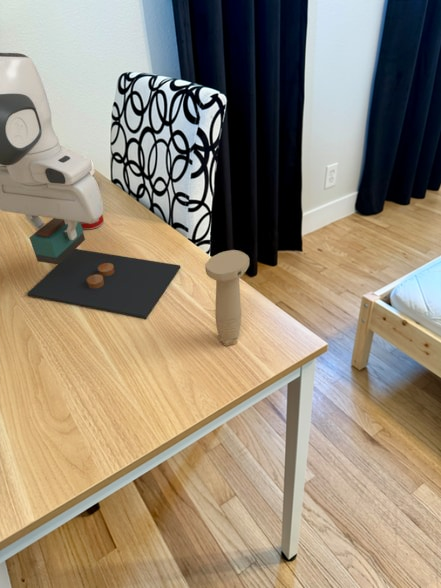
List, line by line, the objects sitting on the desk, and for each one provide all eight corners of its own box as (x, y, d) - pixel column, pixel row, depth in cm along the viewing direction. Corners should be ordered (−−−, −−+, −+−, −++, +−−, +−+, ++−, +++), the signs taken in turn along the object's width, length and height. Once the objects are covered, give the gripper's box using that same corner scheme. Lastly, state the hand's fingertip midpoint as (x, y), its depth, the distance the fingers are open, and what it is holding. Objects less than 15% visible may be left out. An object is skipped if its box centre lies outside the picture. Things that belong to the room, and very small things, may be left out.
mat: (27, 296, 79) (26, 293, 79) (75, 251, 91) (74, 248, 91) (146, 319, 73) (145, 316, 73) (180, 267, 85) (180, 265, 85)
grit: (96, 275, 83) (94, 270, 82) (103, 266, 85) (102, 261, 84) (109, 277, 82) (108, 272, 81) (117, 269, 84) (116, 264, 83)
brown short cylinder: (85, 287, 80) (83, 282, 79) (93, 278, 82) (92, 273, 81) (99, 290, 79) (98, 284, 78) (107, 280, 81) (106, 275, 80)
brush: (37, 261, 78) (27, 233, 74) (65, 236, 85) (57, 210, 81) (58, 264, 77) (49, 236, 73) (85, 239, 84) (78, 212, 80)
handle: (253, 337, 69) (256, 259, 60) (224, 357, 66) (222, 278, 56) (233, 323, 72) (232, 246, 62) (203, 341, 68) (198, 263, 59)
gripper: (-30, 164, 71) (-1, 237, 79) (78, 176, 65) (97, 252, 74) (-4, 151, 75) (21, 221, 84) (99, 161, 70) (114, 234, 79)
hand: (57, 236), depth 79 cm, fingers closed on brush, 4 cm apart
